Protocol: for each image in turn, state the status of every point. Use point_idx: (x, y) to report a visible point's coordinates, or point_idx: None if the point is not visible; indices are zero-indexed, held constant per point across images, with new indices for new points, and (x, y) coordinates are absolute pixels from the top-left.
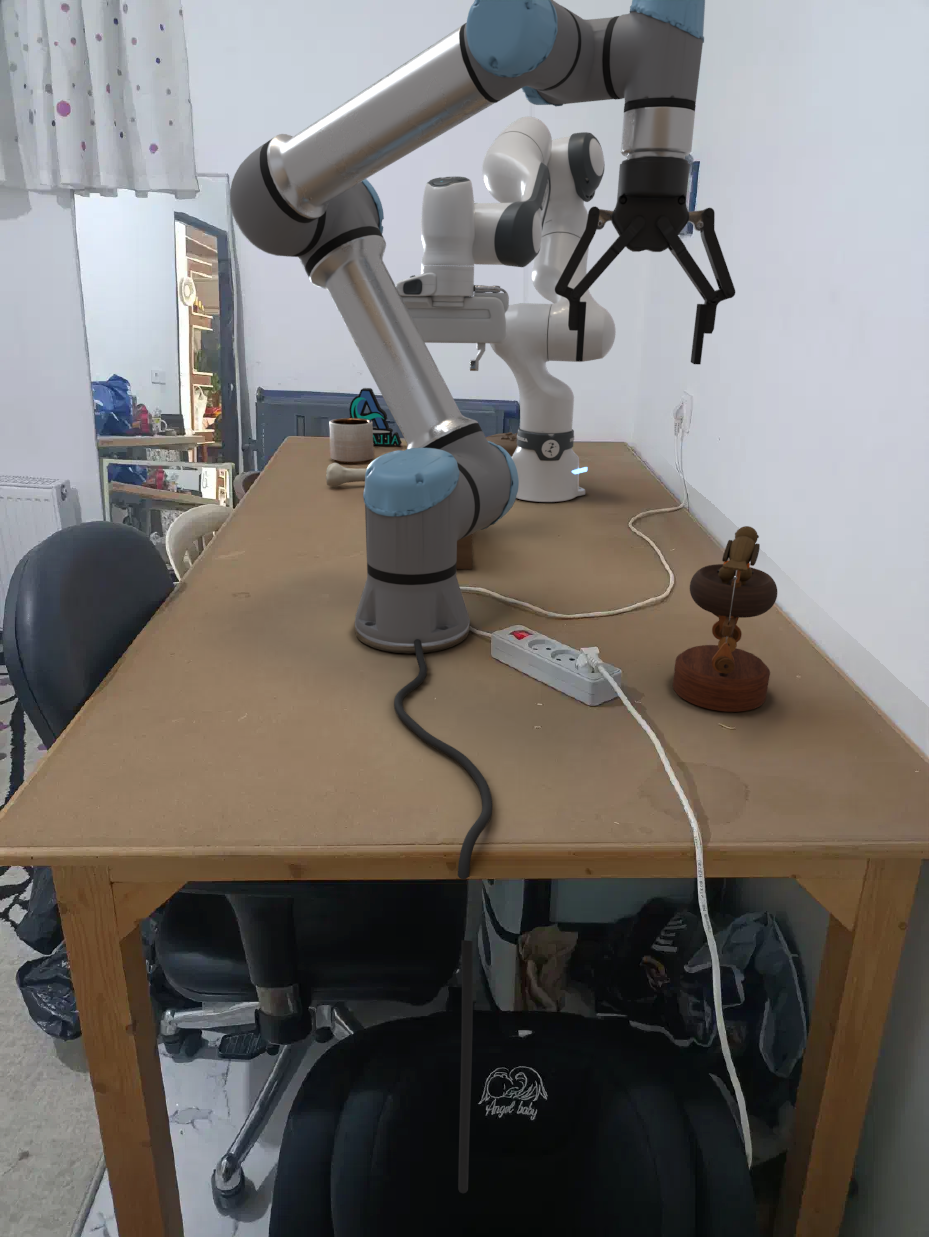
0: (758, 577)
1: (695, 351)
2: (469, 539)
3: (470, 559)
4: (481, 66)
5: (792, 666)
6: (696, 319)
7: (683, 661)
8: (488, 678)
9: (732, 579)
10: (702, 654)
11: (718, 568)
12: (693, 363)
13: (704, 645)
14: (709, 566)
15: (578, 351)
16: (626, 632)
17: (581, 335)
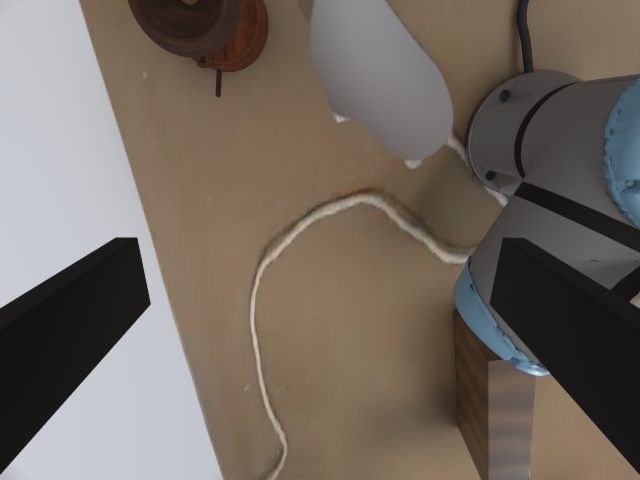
0: (146, 8)
1: (113, 252)
2: (469, 328)
3: (458, 315)
4: None
5: (148, 99)
6: (49, 383)
7: (256, 7)
8: (451, 22)
9: (182, 11)
10: (235, 31)
11: (198, 33)
12: (138, 247)
13: (231, 58)
14: (209, 28)
15: (537, 248)
16: (305, 163)
17: (567, 276)
